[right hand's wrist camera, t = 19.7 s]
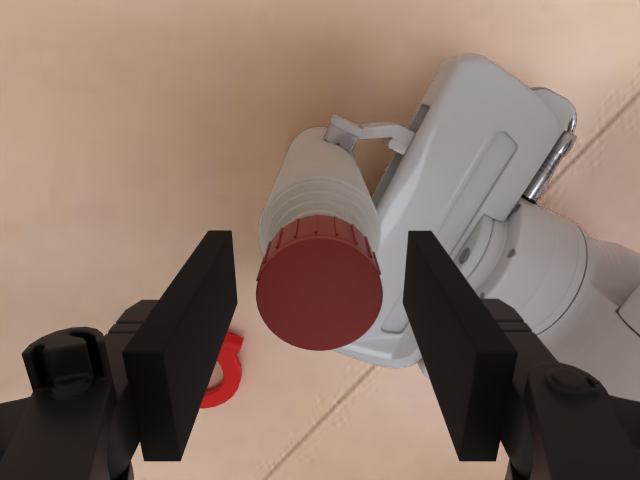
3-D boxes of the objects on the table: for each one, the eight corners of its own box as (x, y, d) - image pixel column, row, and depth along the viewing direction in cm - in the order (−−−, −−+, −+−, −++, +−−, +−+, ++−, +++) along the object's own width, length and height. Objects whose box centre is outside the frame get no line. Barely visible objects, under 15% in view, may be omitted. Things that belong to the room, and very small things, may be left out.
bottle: (281, 184, 33) (227, 340, 14) (294, 119, 31) (252, 194, 12) (343, 197, 33) (376, 367, 14) (359, 134, 32) (421, 229, 12)
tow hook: (230, 409, 41) (255, 335, 38) (190, 550, 30) (221, 464, 26) (145, 386, 41) (162, 308, 37) (69, 523, 29) (83, 429, 25)
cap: (304, 190, 13) (301, 210, 11) (398, 253, 14) (411, 282, 12) (242, 278, 15) (230, 312, 13) (333, 332, 15) (335, 371, 13)
